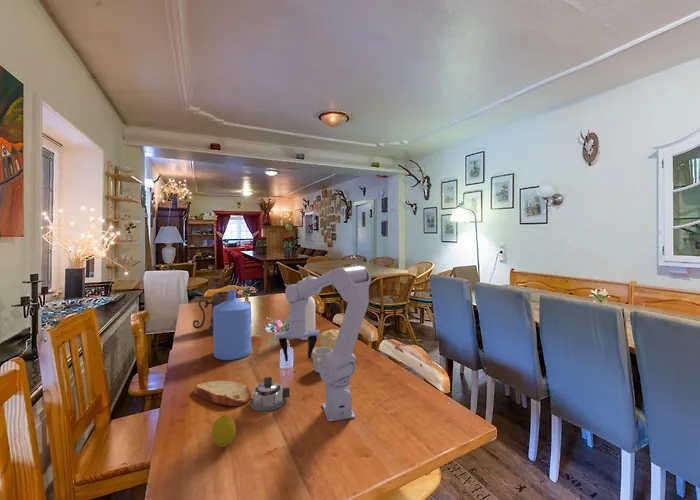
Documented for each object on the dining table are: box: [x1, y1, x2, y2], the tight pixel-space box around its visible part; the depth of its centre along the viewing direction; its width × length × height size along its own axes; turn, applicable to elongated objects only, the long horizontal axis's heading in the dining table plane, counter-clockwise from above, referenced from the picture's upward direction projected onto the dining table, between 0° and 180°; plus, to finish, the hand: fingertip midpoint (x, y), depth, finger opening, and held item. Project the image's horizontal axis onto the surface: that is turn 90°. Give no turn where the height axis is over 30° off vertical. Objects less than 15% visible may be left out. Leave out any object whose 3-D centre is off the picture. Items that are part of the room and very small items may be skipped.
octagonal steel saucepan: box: [252, 383, 291, 409], centre depth 102 cm, size 9×11×4 cm
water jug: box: [212, 289, 252, 361], centre depth 141 cm, size 16×16×28 cm
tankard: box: [192, 290, 228, 335], centre depth 174 cm, size 24×17×20 cm
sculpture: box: [319, 328, 340, 350], centre depth 142 cm, size 12×12×11 cm
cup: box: [311, 346, 333, 374], centre depth 123 cm, size 11×8×8 cm
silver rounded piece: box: [257, 376, 279, 396], centre depth 101 cm, size 7×7×7 cm
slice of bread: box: [193, 380, 252, 407], centre depth 106 cm, size 18×18×4 cm
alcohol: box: [298, 277, 316, 341], centre depth 163 cm, size 9×9×30 cm
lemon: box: [211, 414, 237, 448], centre depth 80 cm, size 6×6×8 cm
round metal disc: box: [249, 397, 287, 413], centre depth 102 cm, size 11×11×1 cm
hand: (297, 359), depth 110 cm, fingers open, 7 cm apart
